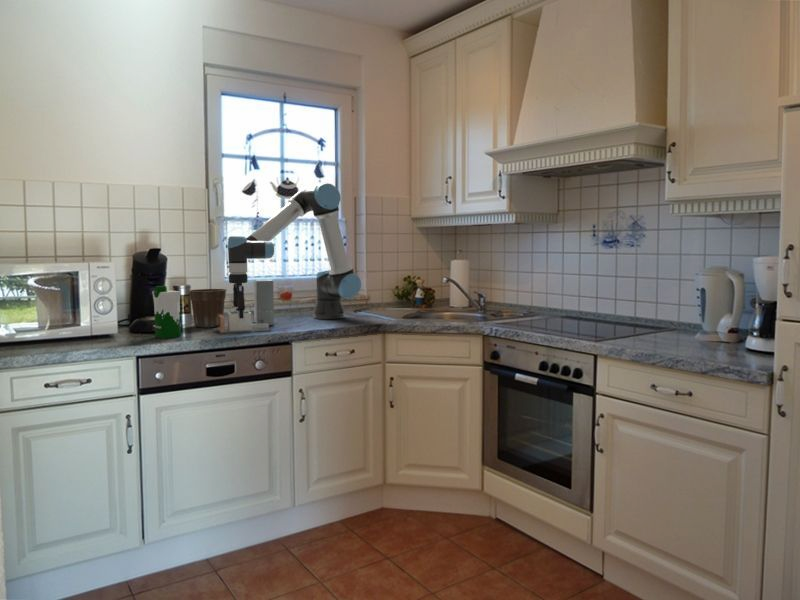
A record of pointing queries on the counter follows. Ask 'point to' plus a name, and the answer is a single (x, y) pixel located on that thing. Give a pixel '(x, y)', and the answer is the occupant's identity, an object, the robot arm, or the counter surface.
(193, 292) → the plant pot
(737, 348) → the counter surface
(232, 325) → the din module
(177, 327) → the milk carton
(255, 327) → the rail dock
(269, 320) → the hard drive box
